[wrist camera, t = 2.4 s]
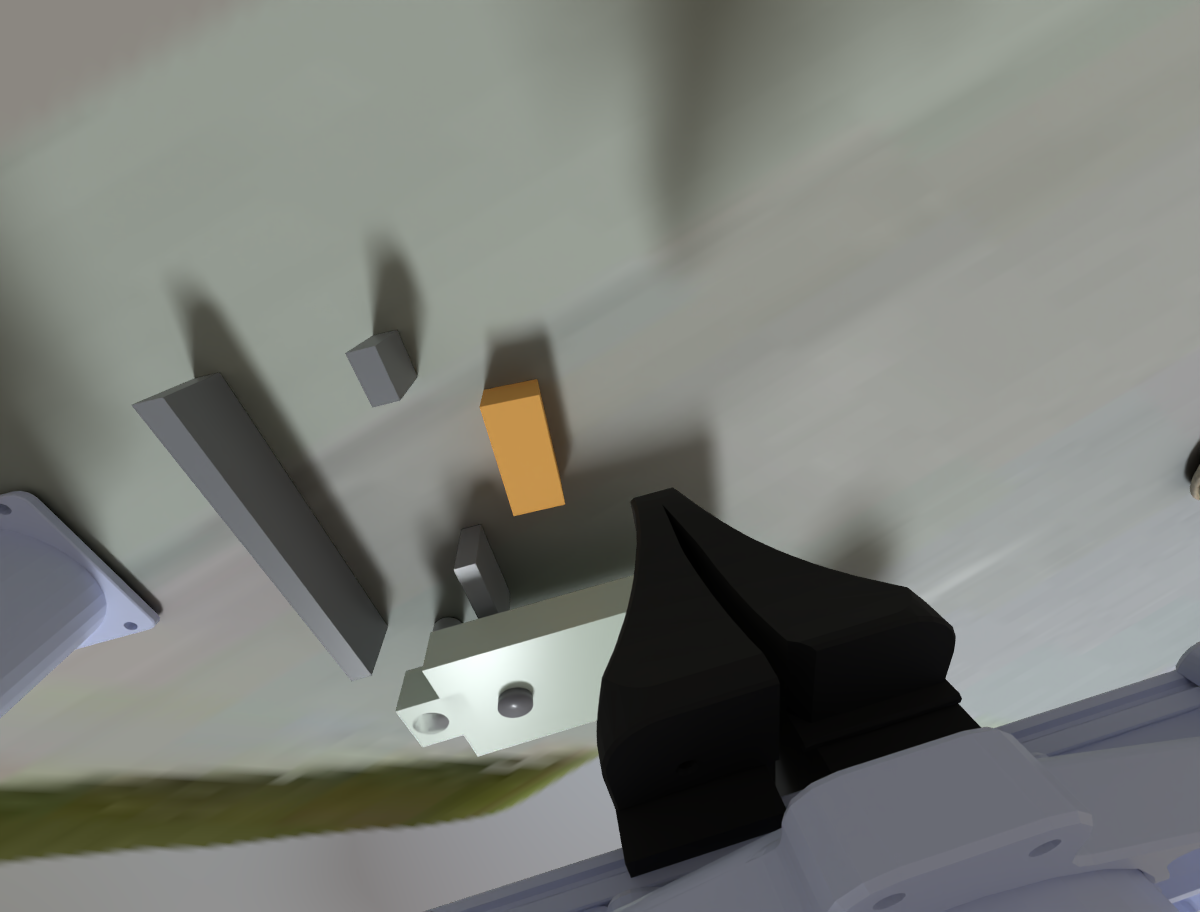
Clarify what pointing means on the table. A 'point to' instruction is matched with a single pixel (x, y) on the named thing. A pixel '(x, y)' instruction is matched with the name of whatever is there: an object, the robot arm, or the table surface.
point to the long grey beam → (301, 505)
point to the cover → (515, 670)
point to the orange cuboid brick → (522, 446)
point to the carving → (1196, 484)
